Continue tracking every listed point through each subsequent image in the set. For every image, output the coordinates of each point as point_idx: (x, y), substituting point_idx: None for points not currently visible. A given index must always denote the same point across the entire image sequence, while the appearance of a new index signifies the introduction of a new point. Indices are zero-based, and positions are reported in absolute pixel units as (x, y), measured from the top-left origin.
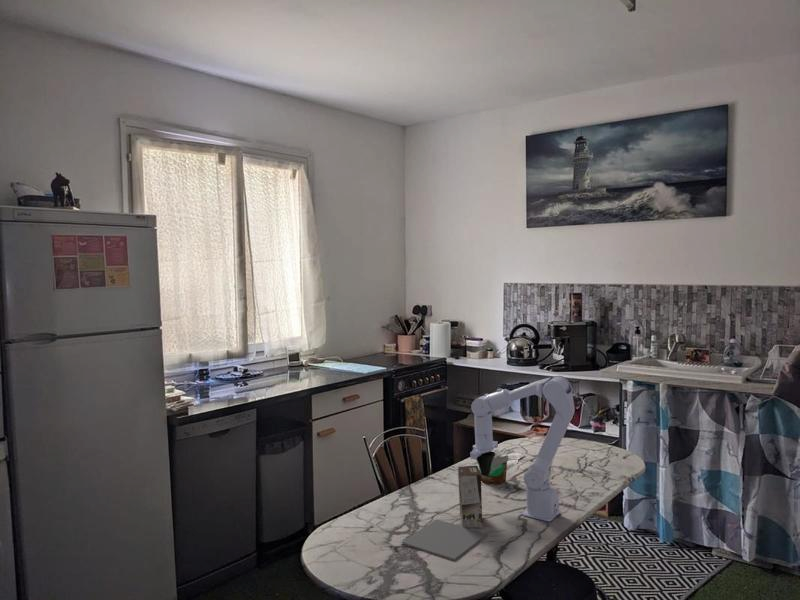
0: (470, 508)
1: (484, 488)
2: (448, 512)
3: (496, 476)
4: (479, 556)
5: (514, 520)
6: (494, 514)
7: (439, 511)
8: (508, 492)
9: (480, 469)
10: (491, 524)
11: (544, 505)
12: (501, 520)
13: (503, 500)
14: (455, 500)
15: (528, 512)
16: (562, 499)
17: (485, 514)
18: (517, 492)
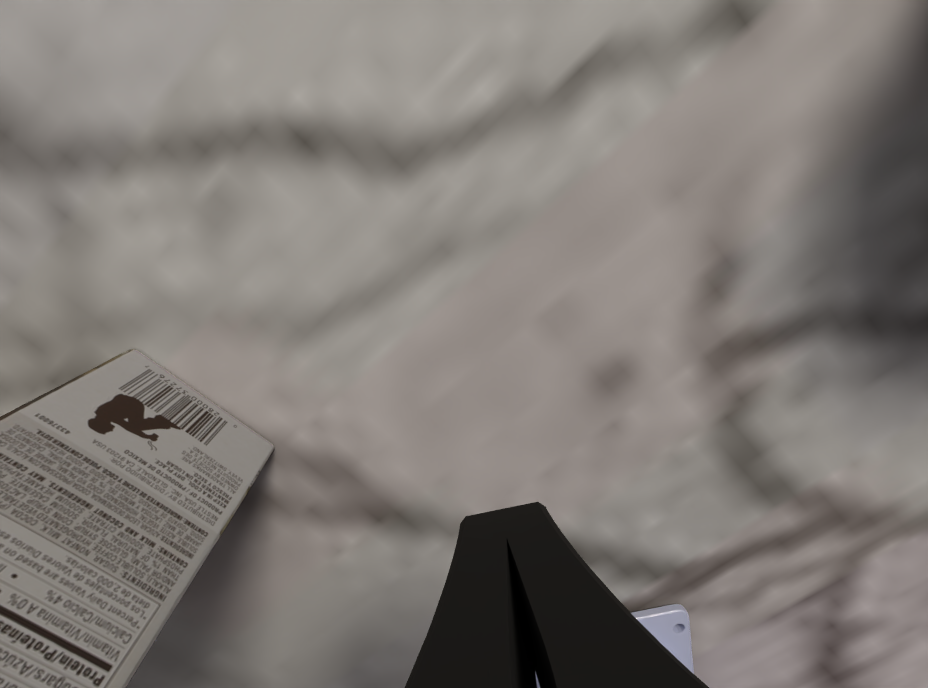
0: None
1: (819, 33)
2: (83, 212)
3: None
4: None
5: (410, 647)
6: (382, 509)
7: (13, 122)
8: (845, 299)
9: (443, 590)
10: (239, 596)
11: None
12: (343, 599)
13: (657, 385)
14: (339, 31)
15: (538, 685)
16: (914, 643)
17: (328, 466)
18: (885, 356)
